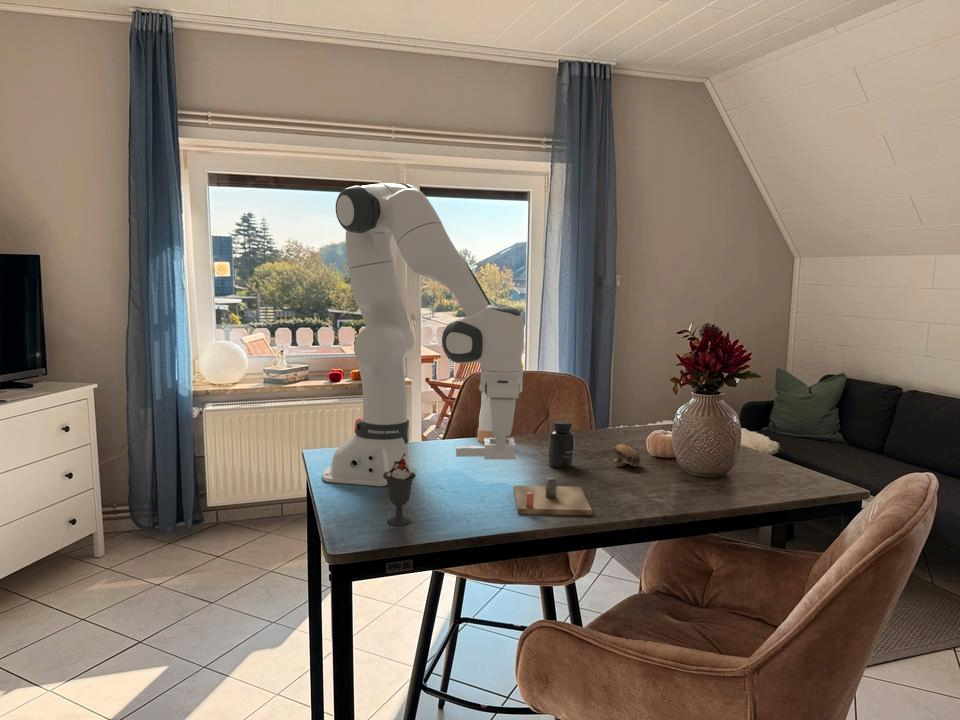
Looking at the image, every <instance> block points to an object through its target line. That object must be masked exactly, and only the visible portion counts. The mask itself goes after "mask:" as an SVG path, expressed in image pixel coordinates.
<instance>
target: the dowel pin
mask: <svg viewBox="0 0 960 720" xmlns="http://www.w3.org/2000/svg"><path fill="white" fill-rule="evenodd" d="M533 501H534V493H532V492H528V493H526V507H527V508H533Z"/></svg>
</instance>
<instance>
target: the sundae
mask: <svg viewBox="0 0 960 720" xmlns="http://www.w3.org/2000/svg"><path fill="white" fill-rule="evenodd" d="M404 456H405V453H404V455H403V456H402V459H401V460H400V461H395V462H394V464H393V467H392V469H391V470H390V471H387V472H385V473H384V474H383V478H385V479H386V480H387V484H388V485H387V491H388V498H389V501H390V502H391V503H392V504H393V505H394V506H395V507H396V511H395V516H393V517H389V518H388V519H387V524H388V525H390V526H395V527H403V526H408V525H409V524H411V523H412V519H410V518H409V517H405V516H404V515H403V506H404V505H405V504H406V503H407V502H409V499H410V495H411V489H412V483H413V480H414V479H415V478H416V476H417V475H416V474H415V472H414V471H413V472H411V470H409V467H408V464H407V463H406V462H405V459H403V457H404Z"/></svg>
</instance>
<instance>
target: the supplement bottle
mask: <svg viewBox="0 0 960 720" xmlns="http://www.w3.org/2000/svg"><path fill="white" fill-rule="evenodd" d="M572 428H573V427H572V422H571V421H569V420H554V421H553V427H552V429H553V430H552V431H551V432H550V433H549V436H548V437H549V438H548V455H547V457H548V458H547V464H548V465H549V467H551V468H555V469H570V468H573V466H574V461H575V459H574V456H575V433H574V432H572V431H571V430H572Z"/></svg>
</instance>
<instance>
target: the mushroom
mask: <svg viewBox="0 0 960 720" xmlns="http://www.w3.org/2000/svg"><path fill="white" fill-rule="evenodd" d="M613 452H614V454H616V458H614V459H613V463H614V464H615V465H616V466H617V467H619V468H620V467H621V468H622V467H623V466H625V465H630V466H631V467H638V466H639V465H640V463H641V461H640V460H641V458H640V455H639V453H638V452H637V451H636V449H634V448H632V447H631V446H629V445H628V444H624V443H620V444H615V446H614V447H613Z"/></svg>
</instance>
